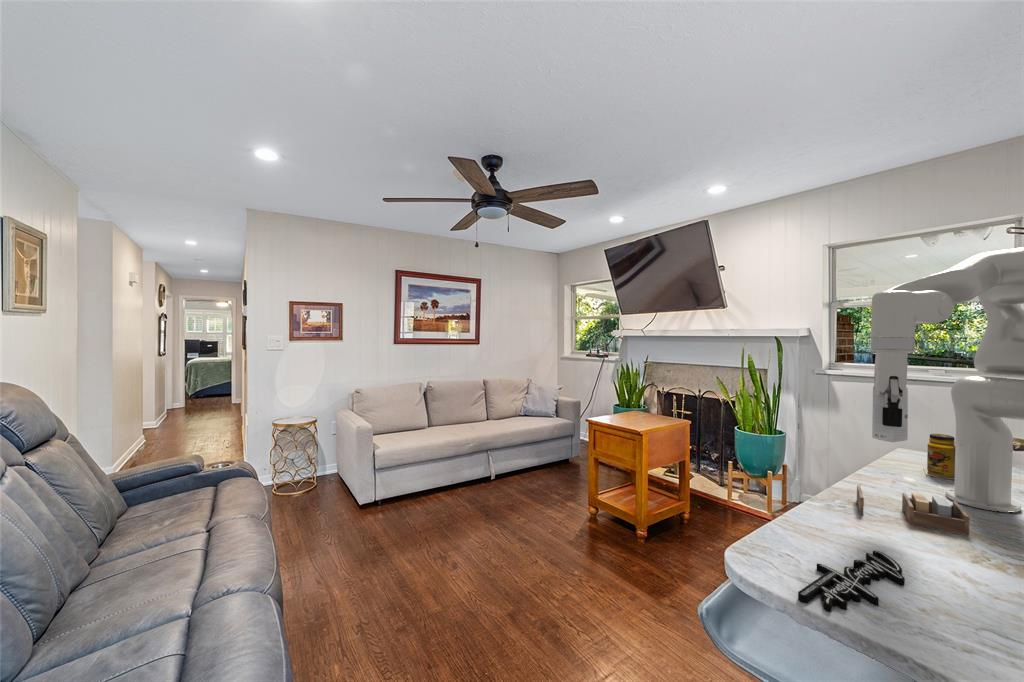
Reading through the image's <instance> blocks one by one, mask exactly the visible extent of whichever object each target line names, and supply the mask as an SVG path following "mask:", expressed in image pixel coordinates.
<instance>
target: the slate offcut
mask: <svg viewBox="0 0 1024 682" xmlns="http://www.w3.org/2000/svg"><path fill="white" fill-rule="evenodd" d="M931 502H932V514H934V515H940V516H945V517H951V506H950V505H951V504H950V503H949V502H948V500H946V498H945V497H941V496H940V497H939V496H934V495H933V496H932V497H931Z"/></svg>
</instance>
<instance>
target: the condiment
mask: <svg viewBox="0 0 1024 682" xmlns="http://www.w3.org/2000/svg"><path fill="white" fill-rule="evenodd" d="M955 443H956V438H955V437H954V436H952V435H948V434H943V433H930V434H929V442H928V443H927V454H926V455H927V457H926V458H927V459H926V465H927V467H924V468H923V471H924V474H925V476H930V477H935V478H941V479H949V480H955Z"/></svg>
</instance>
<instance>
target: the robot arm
mask: <svg viewBox="0 0 1024 682" xmlns="http://www.w3.org/2000/svg"><path fill="white" fill-rule="evenodd" d="M977 297H978V299H979V302H980V305H981V306H982V309H983V311H984V313H985V316H986V320H987V321H986V322H987V324H986V326H985V331H984V332H983V335H982V338H981V340H980V342H979V344H978V345H979V346H978V347H977V349H976V353H975V355H974V359H973V365H974V368H975V370H976V371H978V372H979V373H981V374H984V375H983V376H982V375H973V376H964V377H962V378H959V379H957V380H956V381H955V382H954V383H953V384H952V386H951V390H950V395H951V396H950V397H951V401H952V404H953V410H954V416H955V444H954V445H955V479H954V487H953V488H949V489H947V490H945V496H946V497H947V498H949V499H950V500H952V502H953V501H956V502H957V503H958V504H962V505H964V506H969V507H972V508H976V509H981V510H986V511H990V510H991V511H992V512H997V511H999V513H1009V512H1008V511H1018V510H1021V511H1022V506H1021V504H1020V503H1018V502H1017V501H1015V500H1012V488H1013V487H1012V484H1013V483H1012V480H1013V453H1014V452H1013V450H1014V449H1013V447H1014V437H1013V433H1012V430H1011V429H1010V428H1009V426H1008V425H1007V424H1006V422H1005V421H1004V420H1003V419H1002V418H1004V419H1010V420H1011V419H1012V420H1020V421H1024V309H1023V307H1021V306H1020V305H1021V304H1022V305H1023V304H1024V246H1023V247H1015V248H1010V249H1009V248H1008V249H1001V250H992V251H986V252H981V253H978V254H974V255H973V256H970V257H968V258H967V259H965V260H963V261H961V262H959V263H958V264H957V263H956V265H954V266H952V267H949V268H948V269H946V270H944V271H941V272H938V273H933V274H930V275H927V276H924V277H920V278H918V279H915V280H911V281H907V282H904V283H901V284H899V285H897V286H893V287H892V288H890V289H887V290H886V291H885V290H884V291H879V292H876V293H874V294H873V295H872V297H871V307H870V314H871V316H870V317H871V318H870V319H871V320H870V350H869V352H875V358H874V372H873V373H874V375H873V380H874V381H873V386H875V393H876V394H877V395H880V393H884V407H883V413H882V424H883V425H884V426H892V427H902V409H901V407H902V405H901V397H903V396H905V393H906V387H907V383H908V356H909V355H908V353H909V354H910V353H915V352H916V351H915V349H916V325H929V324H932V325H933V324H937V323H941V322H944V321H946V320H947V319H950V317H951V316H952V314H953V313H954V311H955V305H956V304H961V303H967V302H968V301H971V300H974V299H975V298H977ZM1019 304H1020V305H1019ZM985 375H988V376H985ZM901 390H902V393H901ZM889 392H891V394H887V393H889ZM901 394H902V395H901Z"/></svg>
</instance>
